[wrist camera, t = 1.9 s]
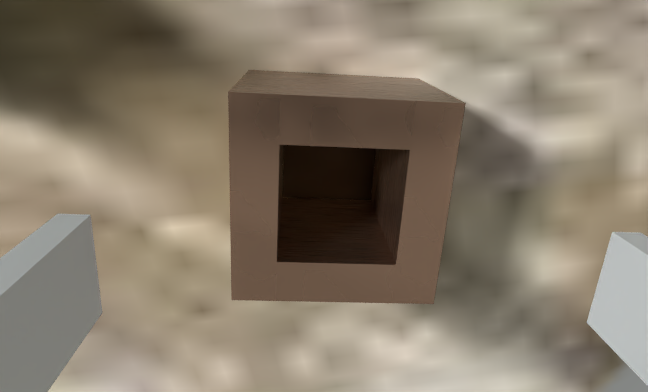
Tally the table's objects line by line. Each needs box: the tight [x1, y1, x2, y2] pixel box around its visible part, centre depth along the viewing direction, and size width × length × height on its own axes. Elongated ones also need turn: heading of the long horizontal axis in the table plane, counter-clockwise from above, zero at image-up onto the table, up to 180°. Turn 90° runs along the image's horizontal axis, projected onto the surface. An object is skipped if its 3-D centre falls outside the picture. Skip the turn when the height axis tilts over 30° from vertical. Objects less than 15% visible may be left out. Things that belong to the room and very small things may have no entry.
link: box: [228, 70, 466, 304], centre depth 18 cm, size 7×7×6 cm
